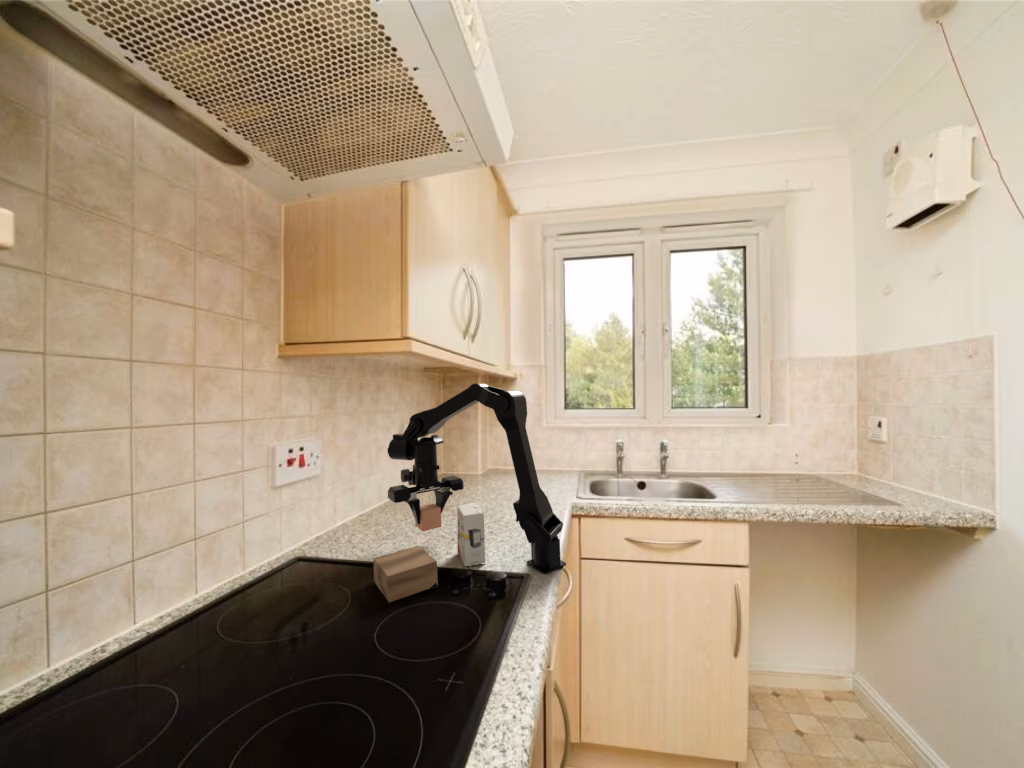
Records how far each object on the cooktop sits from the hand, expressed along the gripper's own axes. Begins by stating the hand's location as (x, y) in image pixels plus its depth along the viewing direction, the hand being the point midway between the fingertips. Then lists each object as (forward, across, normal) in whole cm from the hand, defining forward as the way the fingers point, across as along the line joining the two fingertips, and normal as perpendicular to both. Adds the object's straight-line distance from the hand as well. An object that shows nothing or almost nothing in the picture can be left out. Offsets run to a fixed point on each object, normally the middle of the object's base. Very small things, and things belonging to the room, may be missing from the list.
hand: (428, 521), depth 102 cm
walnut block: (+6, +12, +16) cm, 21 cm away
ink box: (+6, -5, +14) cm, 16 cm away
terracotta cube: (+1, 0, 0) cm, 1 cm away
